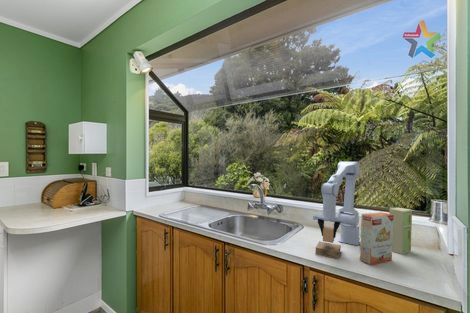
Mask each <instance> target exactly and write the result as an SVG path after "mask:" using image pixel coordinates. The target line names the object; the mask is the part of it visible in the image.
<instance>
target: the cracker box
mask: <svg viewBox="0 0 470 313" xmlns="http://www.w3.org/2000/svg"><path fill="white" fill-rule="evenodd" d="M393 218H394V215H392V214H389V213H387V212H382V211H381V212H372V213H371V212H370V213H362V214H361V220H360V222H361V224H360V225H361V226H360V250H359V251H360V252H359V253H360V255H359V260H360V262H361V261H362V262H364V263H365V264H368V265H370V266H372V265H376V264H382V263H387V262H391V261H393V251H392V242H393Z"/></svg>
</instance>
